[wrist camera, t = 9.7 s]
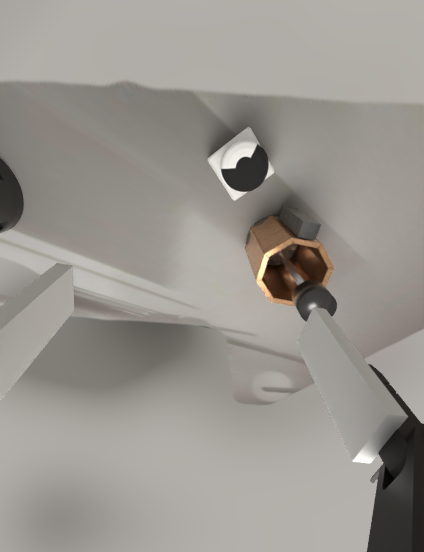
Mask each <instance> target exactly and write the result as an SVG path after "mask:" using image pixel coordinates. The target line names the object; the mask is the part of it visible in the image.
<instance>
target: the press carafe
mask: <svg viewBox="0 0 424 552" xmlns="http://www.w3.org/2000/svg"><path fill="white" fill-rule="evenodd" d="M320 226H321V225H320V224H319V223H317V222H316V221H314V220H313V219H311V218H310V217H308V216H307V215H305V214H304V213H302V212H301V211H299V210H298V209H296V208H291V207H286V206H282V209H281V212H280V215H279V216H273V215H270V216H268V217H266V218H263V219H261V220H260V221H258V222H257V223H256V224H255V225H254V226H252V227H251V228H250V231H249V233H248V235H247V239H246V246H245V250H246V253H247V255H248V258H249V261H250V264H251V267H252V270H253V272H254V275H255V278H256V281H257V283H258V284H259V286H260V287H261V289H262V290H263V292H264V293H265V295H266V296H267V298H268V299H269V301H270V302H274V303H280V304H285V305H291V306H295V304H294V302H293V300H292V294H293V291H294V289H295V288H296V287H297V286H298V285H297V284H296V282H295V281H294V279H293V278H292V276H291V275H290V273H289V272H288V270H287V268H286V267H285V265H284V264H280V265H267V262H268V258H269V257H270V256H272V255H273V254H275V253H277V252H278V251H280V250H282V249H284V248H285V247H287V246H289V245H290V244H292V243H294V244H296V250H295V252H294V254H293V256H292V257H291V258H290V259H289V261H290V262H291V264H292V265H293V266H294V268H295V269H296V271H297V272H298V273H299V275H300V276H301V277H302V279H303V280H304V281H308V280H315V281H319V282H320V283H322V284H323V285H324V286H325V287H326V284H327V282H328V280H329V278H330V275H331V273H332V271H333V269H334V268H333V265H332V263H331V261H330V259H329V257H328V255H327V253H326V251H325V249H324V247H323V245H322V244H321V243H320V242H319V241H318V240H317V239H316V236H317V233H318V231H319V228H320Z"/></svg>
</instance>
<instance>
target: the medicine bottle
mask: <svg viewBox="0 0 424 552" xmlns="http://www.w3.org/2000/svg"><path fill="white" fill-rule="evenodd" d="M208 162H209V164H210V165H211V167H212V168H213V170H214V172H215V173H216V175H217V176H218V178H219V179H220V181H221V182H222V184H223V185H224V187H225V188H226V190H227V192H228V193H229V195H230V196H231V198H232V199H233V200H237V199H238V198H240V197H241V196H242V195H244V194H245V193H247V192H248V191H252V190H254V189H256V188H257V187H259V186H260V185H261V184H262V182H263V181H264V180H265V179H267V178H268V177H269V176H271V175H272V174H273V173H274V169H273V167H272V165H271V164H270V162H269V160H268V157H267V154H266V152H265V151H264V149H263V148H262V147H261V146H260V144H259V142H258V140H257V138H256V137H255V135H254V133H253V131H252V129H251V128H250V127H247V128H246V129H245V130H243V131H242V132H241V133H239V134H238V135H237V136H235V137H234V138H233V139H232V140H230V141H229V142H228V143H226V144H225V145H224V146H223V147H221V148H220V149H219V150H217V151H216V152H215V153H214V154H212V155H211V156H210V157H209V158H208Z"/></svg>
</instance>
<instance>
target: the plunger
mask: <svg viewBox="0 0 424 552" xmlns="http://www.w3.org/2000/svg"><path fill="white" fill-rule="evenodd" d="M295 250H296V244H294V243H292V244H290V245H289V246H287V247H285V248H284V249H282V250H280V251H278V252H277V253H275V254H273V255H272V256H270V257H269V258H268V262H267V265H280V264H284V265H285V267H286V268H287V270H288V272H289V273H290V275H291V276H292V278H293V279H294V281H295V282H296V284H297V285H298V286H297V287H296V288H295V289H294V291H293V294H292V300H293V302H294V304H295V306H296V308H297V310H298V312H299V313H300V315H301V317H302V318H303V319H304V320H305V321H306V322H307V320H308V318H309V315H310V313H311V311H312V309H313V307H317V308H322V309H326V310H327V311H328V313H329V314H330V315H331V316H333V315H334V313H335V311H336V308H337V303H336V300H335V298H334V297H333V296H332V295H331V294H330V292H329V291H328V290H327V289H326V288H325V286H324V285H323V284H322V283H320V282H319V281H315V280H308V281H304V280H303V279H302V277H301V276H300V275H299V273H298V272H297V271H296V269H295V268H294V266H293V265H292V264H291V262H290V261H289V259H290V258H291V257H292V256H293V254H294V252H295Z"/></svg>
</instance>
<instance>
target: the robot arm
mask: <svg viewBox="0 0 424 552" xmlns="http://www.w3.org/2000/svg"><path fill="white" fill-rule="evenodd" d="M22 211H23V197H22V192H21V189H20V186H19V184H18V182H17V180H16V178H15V176H14V175H13V173H12V172H11V170H10V169H9V168H8V167H7V165H6V164H5V163H4V162H3V161H2V160H1V159H0V233H2V232H5V231H7V230H9V229H11V228H12V227H14V226H15V225H16V224H17V222H18V221H19V219H20V217H21V215H22ZM73 311H74V288H73V266H71V265H65V264H59V263H57V264H55V265H54V266H53V267H52V268H50V269H49V270H48V271H46V272H45V273H44V274H42V275H41V276H40V277H39V278H37V279H36V280H35V281H33V282H32V283H31V284H30V285H28V286H27V287H26V288H24V289H23V290H22V291H20V292H19V293H18V294H16V295H15V296H14V297H13V298H11V299H10V300H9V301H7V302H6V303H5V304H4V305H2V306H1V307H0V401H1V400H2V399H3V397H4V396H5V395H6V394H7V392H8V391H9V390H10V389H11V388H12V386H13V385H14V384H15V382H16V381H17V380H18V379H19V378H20V377H21V375H22V374H23V373H24V372H25V370H26V369H27V368H28V367H29V365H30V364H31V363H32V362H33V360H34V359H35V358H36V357H37V356H38V354H39V353H40V352H41V351H42V349H43V348H44V347H45V346H46V344H47V343H48V342H49V341H50V339H51V338H52V337H53V336H54V335H55V333H56V332H57V331H58V330H59V328H60V327H61V326H62V325H63V323H64V322H65V321H66V320H67V319H68V317H69V316H70V315H71V314H72V312H73ZM297 346H298V348H299V350H300V353H301V355H302V357H303V359H304V361H305V363H306V365H307V367H308V369H309V372H310V374H311V376H312V378H313V380H314V382H315V384H316V386H317V388H318V390H319V393H320V395H321V397H322V399H323V401H324V403H325V405H326V407H327V409H328V411H329V413H330V416H331V418H332V420H333V422H334V424H335V426H336V428H337V430H338V432H339V434H340V437H341V438H342V441H343V443H344V445H345V447H346V449H347V451H348V454H349V456H350V457H351V460H352V461H353V462H363V463H371V462H372V461H373V460H374V458H375V457H376V456H377V455H378V454H379V455H380V457H381V459H382V461H383V462H384V463H383V465H382V466H381V467H380V468H379V469H378V471H377V472H376V473H375V474H374V475H373V476H372V478H371V480H370V481H371V482H372V483H374V482H375V480H376V479H378V483H377V490H376V496H375V503H374V510H373V516H372V523H371V529H370V535H369V542H368V548H367V552H424V424H422V423H421V422H420V421H419V420H418V419H417V418H416V416H415V415H414V414H413V413H412V411H411V410H410V409H409V407H408V406H407V405H406V404H405V402H404V401H403V400H402V399H401V397H400V396H399V395H398V394H396V391H395V390H394V388H393V387H392V386H391V385H389V382H388V381H387V380H386V378H385V377H384V376H383V375H382V373H380V372H379V371H378V370H377V369H376V368H374V367H373V366H372V365H370V364H367V362H366V361H365V360H364V358H363V357H362V356H361V354H360V353H359V352H358V350H357V349H356V348H355V347H354V345H353V344H352V343H351V341H350V340H349V339H348V337H347V336H346V335H345V333H344V332H343V331H342V330H341V328H340V327H339V326H338V324H337V323H336V322H335V320H334V319H333V318H332V316H331V315H330V314H329V313H328V311H327V310H326V309H322V308H317V307H313V309H312V311H311V313H310V315H309V318H308V320H307V322H306V324H305V327H304V329H303V331H302V333H301V336H300V338H299V340H298V342H297Z"/></svg>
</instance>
